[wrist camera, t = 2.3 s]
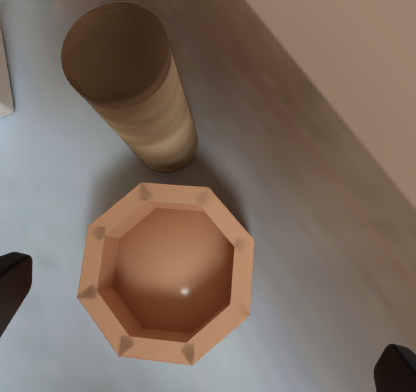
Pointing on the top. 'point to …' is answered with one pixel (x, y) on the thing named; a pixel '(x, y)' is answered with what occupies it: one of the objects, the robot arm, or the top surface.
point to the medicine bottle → (4, 84)
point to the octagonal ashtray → (167, 273)
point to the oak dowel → (132, 82)
